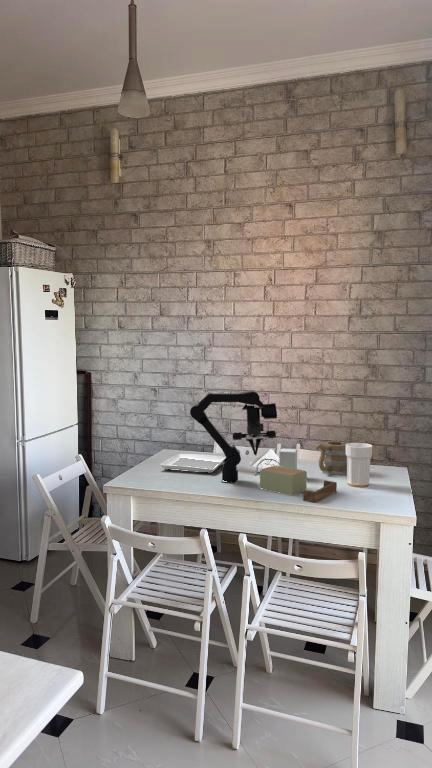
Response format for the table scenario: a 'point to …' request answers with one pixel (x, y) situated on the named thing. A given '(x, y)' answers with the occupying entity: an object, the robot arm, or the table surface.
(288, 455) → the supplement box
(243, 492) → the table surface
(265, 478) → the tea box
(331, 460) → the tankard
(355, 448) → the cup
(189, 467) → the square plate
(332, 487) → the bracket
